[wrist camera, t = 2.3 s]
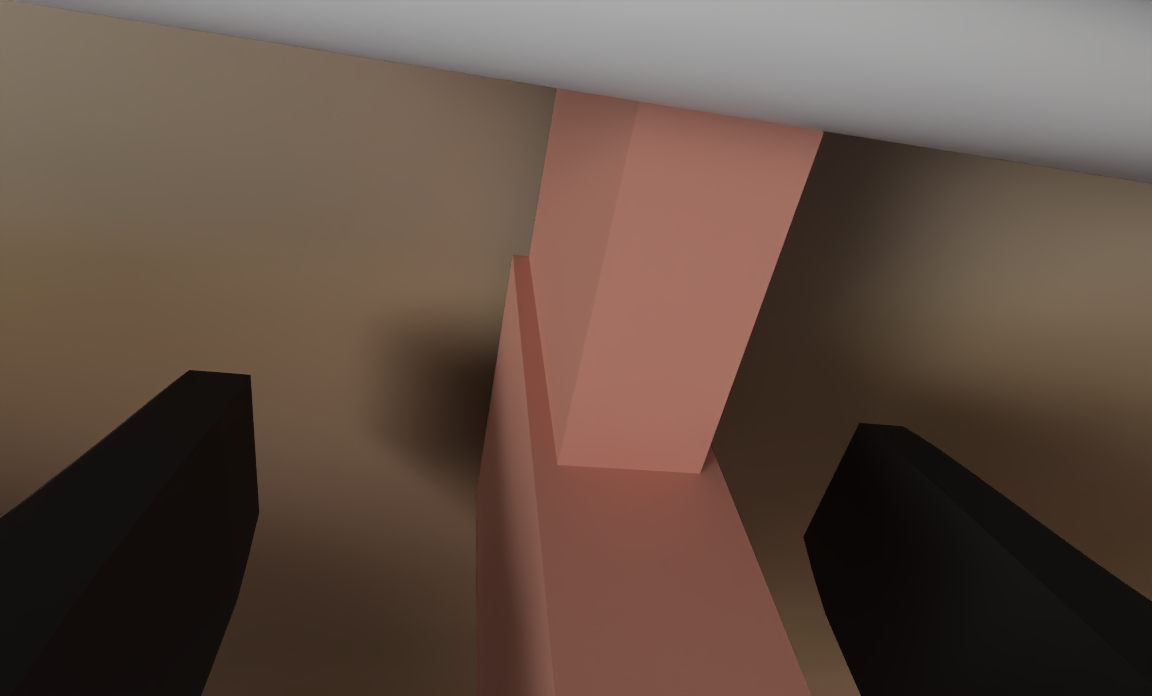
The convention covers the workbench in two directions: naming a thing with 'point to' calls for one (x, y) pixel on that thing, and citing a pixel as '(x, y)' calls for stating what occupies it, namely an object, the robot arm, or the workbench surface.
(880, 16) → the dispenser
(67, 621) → the robot arm
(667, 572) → the pink stepped stick
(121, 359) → the workbench surface
